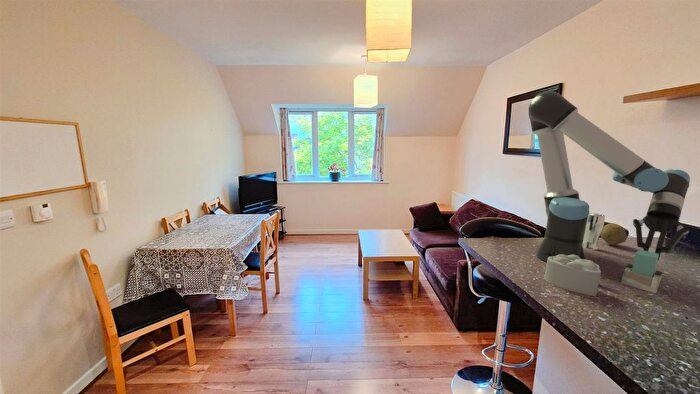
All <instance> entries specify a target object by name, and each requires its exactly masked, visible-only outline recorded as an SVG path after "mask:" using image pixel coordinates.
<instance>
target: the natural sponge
mask: <svg viewBox="0 0 700 394" xmlns="http://www.w3.org/2000/svg"><path fill="white" fill-rule="evenodd" d="M600 238H601V239H603V241H605V243H606V244H607V245H610V246H616V245H619V244H622V243H625V242H626V241H627V239H628V235H627V232H626V229H625V228H624V227H623V226H621V225H620V224H618V223H614V222H613V223H612V222H611V223H607V224H604V227H603V230H602V233H601V235H600Z"/></svg>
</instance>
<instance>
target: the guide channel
mask: <svg viewBox="0 0 700 394" xmlns="http://www.w3.org/2000/svg"><path fill="white" fill-rule="evenodd" d="M632 267H633V263H628V264H627V265H626V267H625V269H623V273H622V277H621V283H620V284H623V285H627V286H630V287H633V288H636V289H640V290H643V291H647V292H650V293H653V294H657V291H658V289H659V287H660V283H661V279H662V276H663V271H661V270H655V273H654V277H651V276H647V275H644V274H640V273H636V272H632Z"/></svg>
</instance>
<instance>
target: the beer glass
mask: <svg viewBox="0 0 700 394" xmlns="http://www.w3.org/2000/svg"><path fill="white" fill-rule="evenodd" d="M605 219H606V215H605V214H601V213H596V212H589V215H588V218H587V224H586V229H585V234H584V239H583V249H588V250H591V251H598V242H599V239H600V238H601V236H600V235H601V233H602V230H603V227H604V226H605Z"/></svg>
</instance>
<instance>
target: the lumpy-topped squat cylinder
mask: <svg viewBox="0 0 700 394" xmlns="http://www.w3.org/2000/svg"><path fill="white" fill-rule="evenodd" d="M601 275H602V271H601V269H600V265H599V264H597V263H595V262H594V261H593V260H589V259H581V258H580V257H579V256H577V255H568V256H566V255H563V254H560V255H557V256H550V257H548V260H547V262H546V266H545V273H544V277H543V278H544V280H545V281H547V282H548V283H549V284H551V285H553V286H556V287H558V288H560V289H563V290H566V291H570V292H573V293H576V294H577V293H579V294H582V295H587V296H588V295H589V296H596V295H598V294H597V293H598V289H599V286H600V285H599V284H600V279H601Z"/></svg>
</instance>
